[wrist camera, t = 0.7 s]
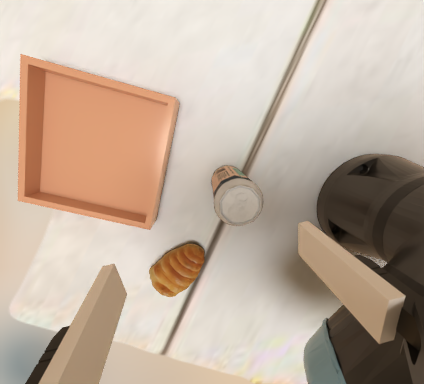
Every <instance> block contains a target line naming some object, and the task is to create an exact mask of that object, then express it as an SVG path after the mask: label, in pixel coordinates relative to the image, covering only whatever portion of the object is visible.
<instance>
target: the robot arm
mask: <svg viewBox="0 0 424 384" xmlns="http://www.w3.org/2000/svg"><path fill="white" fill-rule="evenodd" d="M317 215H318V220H319V223H320V225H321V227H322V229H323V230H324V232H325V233H326V234H327V235H328V236H329V237H328V236H327V235H326V234H324V233H323V232H322V231H321V230H319V229H318V228H317V227H315V226H314V225H313V224H311V223H310V222H309V221H306V222H301V223H298V254H299V255H300V256H301V258H302V259H303V260H304V261H305V262H306V263H307V264H308V265H309V266H310V268H311V269H312V270H313V271H314V272H315V273H316V274H317V275H318V277H319V278H320V279H321V280H322V281H323V282H324V283H325V284H326V285H327V287H328V288H329V289H330V290H331V291H332V292H333V293H334V294H335V296H336V297H337V298H338V299H339V300H340V301H341V302H342V303H343V304H344V305H343V306H342V307H341V308H340V309H338V310H337V311H336V312H335V313H334V314H333V315H332V316H331V317H330V318H329V319H328V318H326V319H325V320H324V321H323V325H322V326H321V327H320V328H319V329H318V330H317V332H316V333H315V334H314V335H313V336H312V337H311V338H310V339H309V341H308V342H307V344H306V346H305V349H304V368H305V373H306V378H307V382H308V384H424V167H422V166H420V165H418V164H415V163H413V162H411V161H409V160H407V159H405V158H402V157H398V156H393V155H383V154H368V155H363V156H359V157H356V158H354V159H351V160H349V161H348V162H346V163H344V164H343V165H341V166H340V167H339V168H338V169H336V170H335V171H334V172H333V173H332V174H331V175H330V177H329V178H328V179H327V181H326V182H325V184H324V186H323V188H322V190H321V192H320V195H319V198H318V204H317ZM332 239H333V240H332ZM336 242H337V243H338V244H337V243H336ZM340 245H341V246H343V247H345V248H347V249H349V250H352V251H355V252H358V253H361V254H364V255H368V256H371V257H374V258H377V259H381V260H384V261H385V262H387V264H386V265H385V266H384V267H383V268H380V266H379V265H377V264H376V263H374V262H373V261H372V260H370V259H368V258H366V257H363V256H361V255H357V256H353V255H352V254H350V253H349V252H348V251H347V250H345V249H344V248H343V247H341V246H340ZM126 296H127V293H126V290H125V288H124V286H123V283H122V281H121V278H120V276H119V273H118V271H117V269H116V266H115V264H111V265H107V266H103V267H102V269H101V270H100V272H99V274H98V276H97V278H96V280H95V281H94V283H93V285H92V287H91V289H90V291H89V292H88V294H87V296H86V298H85V300H84V302H83V303H82V305H81V307H80V309H79V311H78V313H77V314H76V316H75V318H74V320H73V322H72V323H71V325H70V326H67V327H63V328H62V329H61V330H60V331H59V332H58V333H57V334H56V335H55V336H54V337H53V339H52V340H51V342H50V343H49V345H48V347H47V348H46V350H45V353H44V354H43V355H42V357H41V358H40V360H39V363H38V364H37V365H36V367H35V368H34V370H33V372H32V373H31V375H30V377H29V379H28V380H27V382H26V383H25V384H99V381H100V378H101V375H102V372H103V368H104V365H105V362H106V359H107V356H108V353H109V350H110V346H111V343H112V340H113V337H114V334H115V331H116V327H117V324H118V321H119V318H120V315H121V312H122V309H123V305H124V302H125V299H126Z"/></svg>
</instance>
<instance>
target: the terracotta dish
mask: <svg viewBox="0 0 424 384" xmlns="http://www.w3.org/2000/svg"><path fill="white" fill-rule="evenodd" d="M179 105H180V103H179V102H178V100H177V99H176V98H175V97H171V96H167V95H164V94H160V93H157V92H153V91H150V90H146V89H143V88H139V87H136V86H132V85H128V84H125V83H121V82H118V81H114V80H111V79H107V78H104V77H100V76H96V75H93V74H89V73H86V72H82V71H79V70H75V69H72V68H68V67H65V66H61V65H57V64H54V63H50V62H47V61H43V60H40V59H36V58H33V57H29V56H26V55H22V54H21V59H20V114H19V116H20V117H19V167H18V170H19V171H18V173H19V174H18V201H22V202H26V203H31V204H35V205H40V206H45V207H49V208H53V209H58V210H62V211H67V212H72V213H76V214H81V215H85V216H90V217H94V218H99V219H103V220H108V221H112V222H117V223H122V224H126V225H131V226H135V227H140V228H144V229H149V230H150V229H151V227H152V226H153V224H154V223H155V221H156V219H157V214H158V209H159V204H160V199H161V194H162V189H163V184H164V179H165V174H166V169H167V164H168V159H169V154H170V149H171V144H172V139H173V134H174V129H175V124H176V119H177V114H178V109H179Z"/></svg>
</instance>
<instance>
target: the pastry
mask: <svg viewBox="0 0 424 384" xmlns="http://www.w3.org/2000/svg"><path fill="white" fill-rule="evenodd" d="M203 263H204V250H203V249H202V248H201V247H200V246H199V245H196V244H186V245H184V246H181V247H179V248H176V249H174V250H171V251H170V252H169V253H167V254H165V255H164V256H163V258H161V259H160V260H159V261H158V262H157V263H156V264H155V265H154V266H152V267H151V268H150V270H149V274H150V279H151V280H152V285H153V287H154V288H155V289H156V290H157V291H158V292H159V293H160V294H161V295H165V296H167V297H173V296H176V295H177V294H178V293H180V292H182V291H183V290H185V289H187V288H188V287H189V285H190V284H191V283H192V282H193V281H194V280H195V278H196V277H197V276H198V273H199V272H200V269H201V266H202V265H203Z"/></svg>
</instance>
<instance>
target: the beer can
mask: <svg viewBox="0 0 424 384" xmlns="http://www.w3.org/2000/svg"><path fill="white" fill-rule="evenodd" d="M211 182H212V187H213V194H214V208H215V211H216V213H217V215H218V216H219V218H220V219H221V220H222V221H224V222H225V223H227V224H230V225H234V226H243V225H245V224H248V223H250V222H253V221H254V220H255V219H256V218H257V216H258V215H259V214H260V212H261V210H262V207H263V195H262V193H261V190H260V189H259V188H258V186H257V185H256V184H254V183H253V182H252V181H251V180H250V179H248V178H247V177H246V176H245V175H244V174H243V173H242V172H240V171H239V170H238V169H237V168H235V167H233V166H222V167H220V168H219V169H217V170H216V171H215V172H214V174H213V176H212V180H211Z"/></svg>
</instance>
